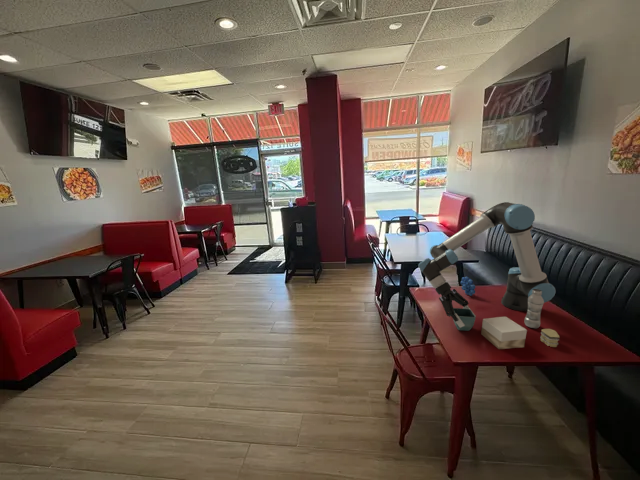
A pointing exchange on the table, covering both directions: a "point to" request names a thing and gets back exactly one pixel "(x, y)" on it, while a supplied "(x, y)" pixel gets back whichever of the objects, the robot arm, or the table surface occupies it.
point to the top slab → (504, 329)
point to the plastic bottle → (534, 309)
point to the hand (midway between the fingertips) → (468, 322)
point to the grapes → (468, 286)
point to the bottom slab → (505, 343)
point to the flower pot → (465, 318)
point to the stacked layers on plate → (549, 337)
